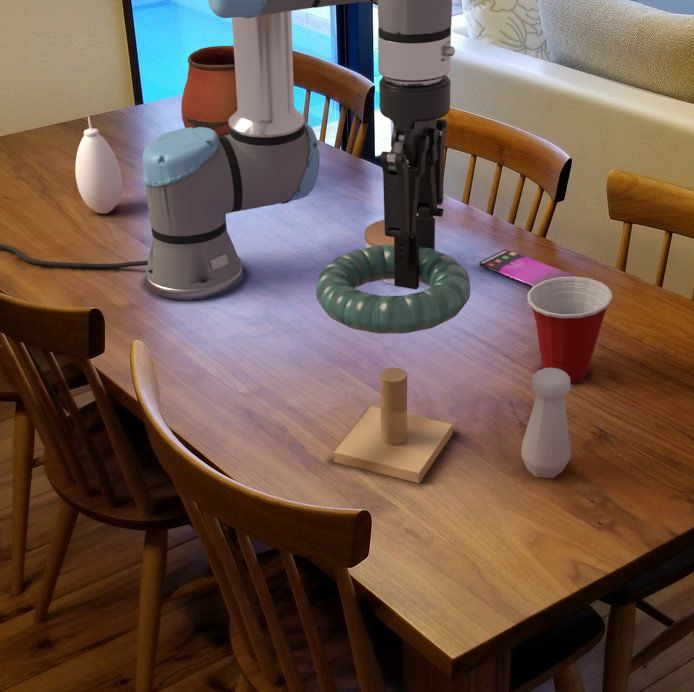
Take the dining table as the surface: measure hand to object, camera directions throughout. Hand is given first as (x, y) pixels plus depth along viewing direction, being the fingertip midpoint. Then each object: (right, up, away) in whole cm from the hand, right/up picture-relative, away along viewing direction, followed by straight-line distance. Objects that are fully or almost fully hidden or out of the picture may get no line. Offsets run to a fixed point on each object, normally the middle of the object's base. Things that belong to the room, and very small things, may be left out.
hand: (414, 277), depth 125 cm
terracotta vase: (-29, +27, +81) cm, 90 cm away
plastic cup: (+21, -11, +20) cm, 31 cm away
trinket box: (0, +5, +46) cm, 46 cm away
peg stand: (-2, -20, +6) cm, 21 cm away
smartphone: (+21, +6, +45) cm, 50 cm away
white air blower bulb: (-53, +20, +73) cm, 92 cm away
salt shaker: (+15, -22, +2) cm, 27 cm away
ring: (-3, -2, -6) cm, 7 cm away
